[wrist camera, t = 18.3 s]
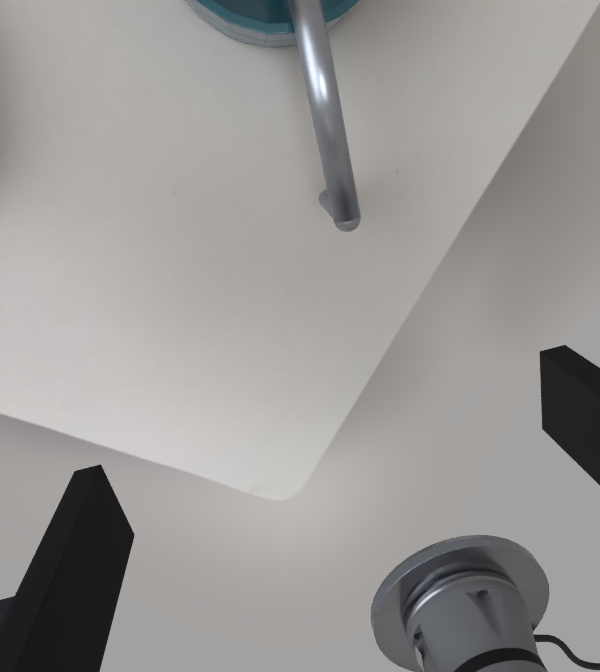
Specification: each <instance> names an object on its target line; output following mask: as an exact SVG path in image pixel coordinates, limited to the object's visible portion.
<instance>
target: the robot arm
mask: <svg viewBox="0 0 600 672" xmlns="http://www.w3.org/2000/svg"><path fill="white" fill-rule="evenodd" d="M540 374H541V404H542V429H543V430H544V431H545V432H546V433H547V434H548V435H549V436H550V437H551V438H552V439H553V440H554V441H555V442H556V443H557V444H558V445H559V446H560V447H561V448H562V449H563V450H564V451H565V452H566V453H567V454H568V455H569V456H571V458H573V459H574V460H575V461H576V462H577V463H578V464H579V465H580V466H581V467H582V468H583V469H584V470H585V471H586V472H587V473H588V474H589V475H590V476H591V477H592V478H593V479H594V480H595V481H596V482H597V483H598V484H599V485H600V368H599V367H597V366H596V365H594V364H593V363H591V362H590V361H588V360H587V359H585V358H584V357H582V356H580V355H579V354H578V353H576V352H575V351H573V350H572V349H570V348H569V347H567V346H566V345H563V346H559V347H556V348H552V349H548V350H544V351H540ZM133 539H134V533H133V531H132V529H131V526H130V525H129V522H128V520H127V518H126V516H125V514H124V512H123V510H122V508H121V506H120V504H119V502H118V499H117V497H116V495H115V493H114V491H113V489H112V487H111V485H110V483H109V481H108V479H107V476H106V474H105V473H104V470H103V468H102V466H101V465H97V466H93V467H89V468H85V469H81V470H77V471H75V472H74V474H73V476H72V478H71V480H70V482H69V484H68V486H67V488H66V491H65V493H64V495H63V497H62V499H61V501H60V503H59V505H58V507H57V509H56V511H55V513H54V515H53V518H52V520H51V522H50V524H49V526H48V528H47V530H46V532H45V534H44V536H43V538H42V541H41V543H40V545H39V547H38V549H37V551H36V553H35V556H34V557H33V559H32V562H31V564H30V565H29V568H28V570H27V572H26V574H25V576H24V578H23V580H22V582H21V584H20V587H19V589H18V591H17V593H16V595H15V596H14V597H10V598H6V599H2V600H0V672H99V671H100V667H101V663H102V660H103V655H104V652H105V647H106V644H107V640H108V636H109V632H110V628H111V624H112V620H113V617H114V613H115V609H116V605H117V601H118V597H119V593H120V589H121V586H122V581H123V578H124V574H125V570H126V566H127V562H128V558H129V554H130V550H131V546H132V543H133ZM404 629H405V633H406V636H407V639H408V642H409V645H410V647H411V649H412V651H413V653H414V655H415V656H416V658H417V662H418V664H419V665H420V667H421V668H422V670H423V671H424V669H425V670H426V671H427V672H547V670H546V668H545V666H544V664H543V663H542V661H541V659H540V657H539V655H538V652H537V648H536V643H535V642H552V643H554V644H556V645H558V646H559V647H560V648H562V650H563V651H564V652H565V654H566V655H567V656H568V657H569V658H570V659H571V660H572V661H573V662H574V663H575V664H577V665H579V666H581V667H584V668H587V669H592V670H600V663H590V662H585V661H582V660H580V659H578V658H577V657H576V656H575V655H574V654H573V653H572V652H571V650H570V649H569V648H568V647H567V645H566V644H565V643H564V642H563V641H561V640H560V639H558V638H556V637H554V636H551V635H533V630H532V626H531V622H530V617H529V613H528V609H527V606H526V604H525V601H524V599H523V597H522V595H521V594H520V592H519V590H518V589H517V587H516V585H515V584H514V583H513V582H512V581H511V580H510V579H508V578H507V577H505V576H503V575H501V574H498V573H495V572H491V571H484V570H473V571H465V572H460V573H456V574H453V575H450V576H447V577H445V578H442V579H440V580H438V581H436V582H435V583H433V584H431V585H430V586H428V587H427V588H426V589H424V590H423V591H422V592H421V593H420V594H419V595H418V596H417V597H416V598H415V599H414V601H413V602H412V603H411V605H410V606H409V608H408V610H407V613H406V616H405V620H404ZM423 667H424V668H423Z"/></svg>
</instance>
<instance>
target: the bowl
mask: <svg viewBox="0 0 600 672" xmlns="http://www.w3.org/2000/svg"><path fill="white" fill-rule="evenodd" d="M185 1H186V2H187V3H188V4H189V5H190V6H191V7H192V8H193V10H194V11H195V12H196V13H197V15H199V16H200V17H201V18H203V19H204V20H205V21H206V22H207V23H208V24H210V25H211V26H213V27H214V28H216V29H217V30H218V31H220V32H221V33H223V34H225V35H227V36H228V37H230V38H233V39H235V40H238V41H241V42H244V43H247V44H250V45H256V46H261V47H284V46H291V45H297V39H296V35H295V30H294V25H293V20H292V15H291V10H290V5H289V0H185ZM359 1H360V0H322V3H323V9H324V14H325V20H326V26H327V31H328V30H329V29H331V28H332V27H333V26H334V25H335V24H336V23H337V22H338V21H339V20H340V19H341V18H342V17H343V16H344V15H345V14H346V13H347V12H348V11H349V10H350V9H351V8H353V7H354V6H355V5H356V4H357V3H358V2H359Z"/></svg>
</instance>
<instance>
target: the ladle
mask: <svg viewBox="0 0 600 672" xmlns="http://www.w3.org/2000/svg"><path fill="white" fill-rule="evenodd" d="M289 5H290V10H291V15H292V20H293V25H294V30H295V35H296V39H297V44H298V49H299V54H300V59H301V64H302V69H303V74H304V79H305V83H306V88H307V93H308V98H309V103H310V108H311V113H312V118H313V123H314V127H315V132H316V137H317V142H318V147H319V152H320V157H321V162H322V167H323V171H324V176H325V181H326V186H327V190H324V191H322V192H321V194H320V196H319V202H320V204H321V205H322V206H323V207H324V209H325V210H326V211H327V212H328V213H329V214H330V216H331V217H332V218H333V220H334V224H335V226H336V227H337V228H338V229H339V230H341V231H344V232H350V231H353V230H354V229H356V228H357V227H358V225H359V223H360V219H361V215H360V210H359V204H358V199H357V193H356V187H355V182H354V176H353V171H352V165H351V160H350V154H349V148H348V143H347V137H346V132H345V126H344V120H343V115H342V109H341V104H340V98H339V93H338V87H337V81H336V76H335V70H334V65H333V59H332V53H331V48H330V42H329V37H328V31H327V26H326V20H325V14H324V9H323V3H322V0H289Z"/></svg>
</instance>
